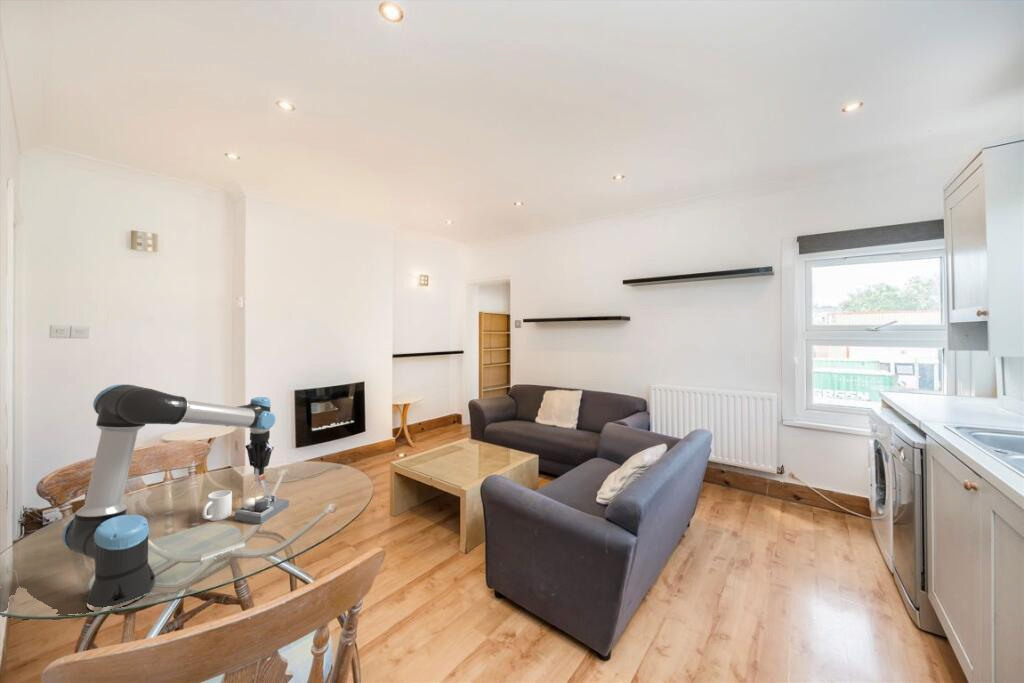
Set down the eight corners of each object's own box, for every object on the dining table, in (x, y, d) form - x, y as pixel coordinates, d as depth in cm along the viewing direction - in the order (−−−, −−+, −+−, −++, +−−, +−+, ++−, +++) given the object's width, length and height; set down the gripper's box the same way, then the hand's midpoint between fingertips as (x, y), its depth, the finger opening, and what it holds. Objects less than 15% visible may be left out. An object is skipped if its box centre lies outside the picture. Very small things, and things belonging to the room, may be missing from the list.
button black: (260, 514, 163) (260, 507, 163) (252, 512, 164) (252, 505, 163) (269, 509, 167) (269, 502, 167) (260, 507, 168) (260, 501, 168)
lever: (270, 502, 173) (260, 476, 173) (267, 503, 173) (258, 477, 173) (273, 500, 174) (264, 475, 175) (271, 501, 175) (261, 476, 175)
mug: (210, 527, 157) (211, 503, 156) (194, 524, 158) (194, 500, 158) (236, 513, 169) (236, 490, 168) (220, 510, 170) (220, 488, 170)
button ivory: (248, 509, 164) (249, 502, 164) (240, 508, 165) (240, 501, 164) (257, 504, 168) (257, 498, 168) (248, 503, 169) (248, 496, 169)
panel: (260, 524, 162) (261, 510, 161) (234, 519, 164) (235, 506, 163) (288, 506, 177) (289, 494, 177) (264, 502, 180) (265, 490, 179)
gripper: (278, 430, 175) (277, 479, 177) (254, 427, 178) (253, 476, 179) (265, 435, 168) (264, 486, 169) (240, 431, 170) (239, 482, 172)
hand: (258, 481), depth 174 cm, fingers closed
